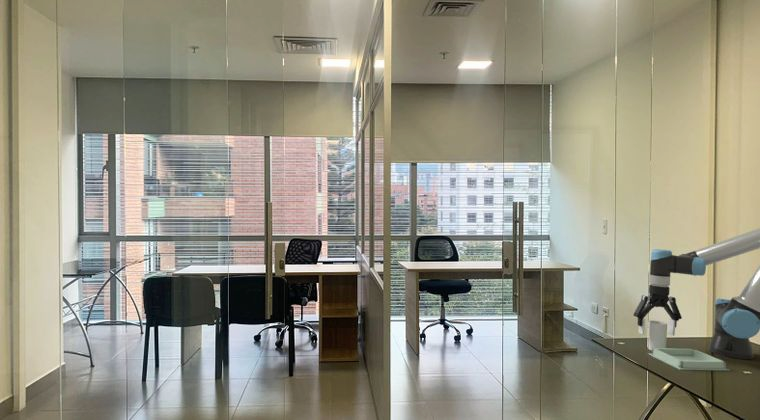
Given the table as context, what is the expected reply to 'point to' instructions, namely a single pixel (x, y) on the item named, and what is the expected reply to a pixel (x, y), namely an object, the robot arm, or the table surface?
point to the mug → (657, 334)
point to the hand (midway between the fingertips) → (656, 334)
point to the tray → (688, 359)
